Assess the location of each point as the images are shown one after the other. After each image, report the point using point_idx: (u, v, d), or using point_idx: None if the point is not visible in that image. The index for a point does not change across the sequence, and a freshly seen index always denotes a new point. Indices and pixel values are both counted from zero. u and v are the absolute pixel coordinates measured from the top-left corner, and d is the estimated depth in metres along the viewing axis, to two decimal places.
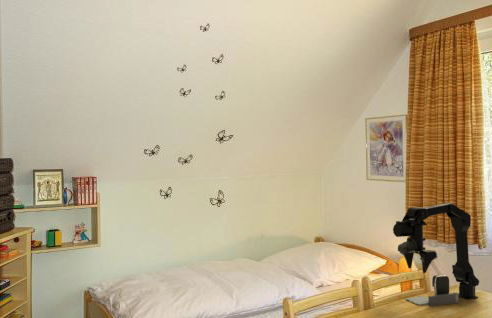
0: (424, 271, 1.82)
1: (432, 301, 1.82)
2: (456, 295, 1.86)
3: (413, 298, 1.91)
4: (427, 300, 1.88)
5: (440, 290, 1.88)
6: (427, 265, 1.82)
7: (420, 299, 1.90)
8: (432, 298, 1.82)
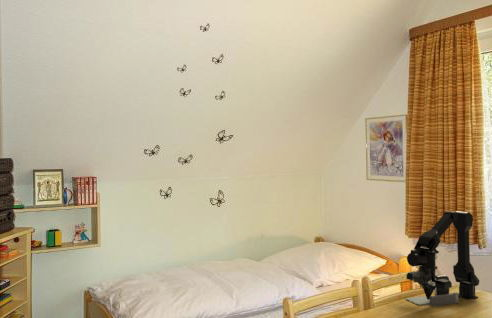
0: (428, 297, 1.83)
1: (433, 301, 1.81)
2: (456, 295, 1.86)
3: (413, 298, 1.91)
4: (427, 300, 1.88)
5: (440, 290, 1.88)
6: (431, 292, 1.83)
7: (420, 299, 1.90)
8: (433, 298, 1.81)
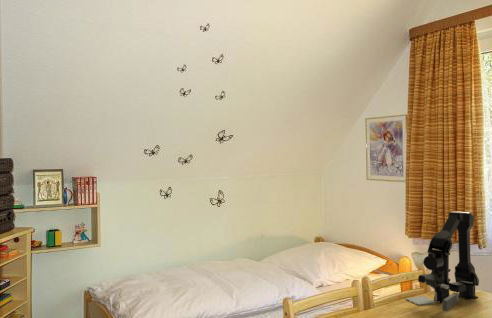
0: (441, 301, 1.78)
1: (447, 305, 1.77)
2: (457, 295, 1.86)
3: (413, 298, 1.91)
4: (427, 300, 1.88)
5: None
6: (444, 295, 1.78)
7: (420, 299, 1.90)
8: (447, 302, 1.77)
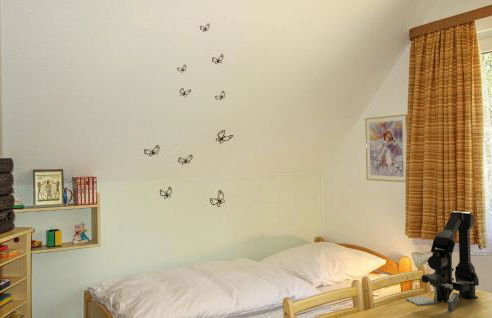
0: (446, 300, 1.76)
1: (452, 306, 1.75)
2: (457, 295, 1.86)
3: (413, 298, 1.91)
4: (427, 300, 1.88)
5: None
6: (449, 295, 1.76)
7: (420, 299, 1.90)
8: (452, 303, 1.76)
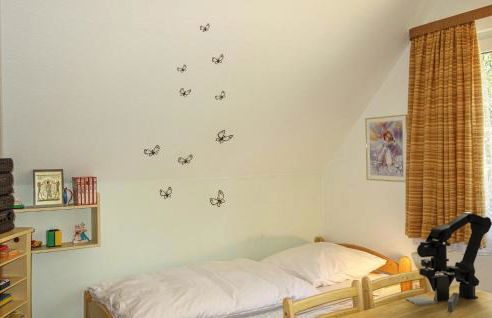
0: (432, 288, 1.90)
1: (452, 306, 1.75)
2: (457, 295, 1.86)
3: (413, 298, 1.91)
4: (427, 300, 1.88)
5: (440, 290, 1.88)
6: (433, 284, 1.88)
7: (420, 299, 1.90)
8: (452, 303, 1.76)
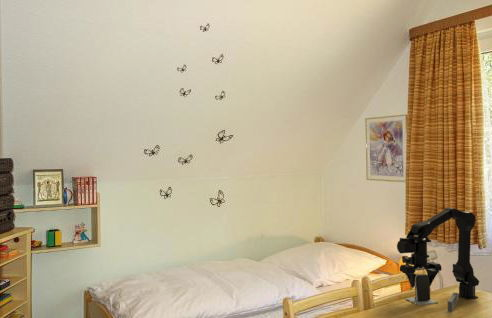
0: (411, 285, 1.88)
1: (452, 306, 1.75)
2: (457, 295, 1.86)
3: (413, 298, 1.91)
4: (427, 300, 1.88)
5: (421, 289, 1.87)
6: (411, 280, 1.87)
7: None
8: (452, 303, 1.76)
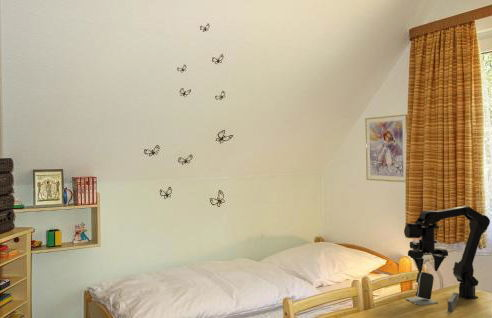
0: (419, 270, 1.93)
1: (452, 306, 1.75)
2: (457, 295, 1.86)
3: (413, 298, 1.91)
4: (427, 300, 1.88)
5: (424, 286, 1.88)
6: (419, 265, 1.92)
7: (420, 299, 1.90)
8: (452, 303, 1.76)
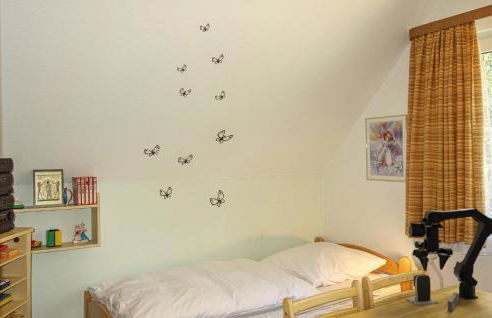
0: (424, 269, 1.96)
1: (452, 306, 1.75)
2: (457, 295, 1.86)
3: (413, 298, 1.91)
4: None
5: (421, 290, 1.87)
6: (424, 264, 1.94)
7: None
8: (452, 303, 1.76)
